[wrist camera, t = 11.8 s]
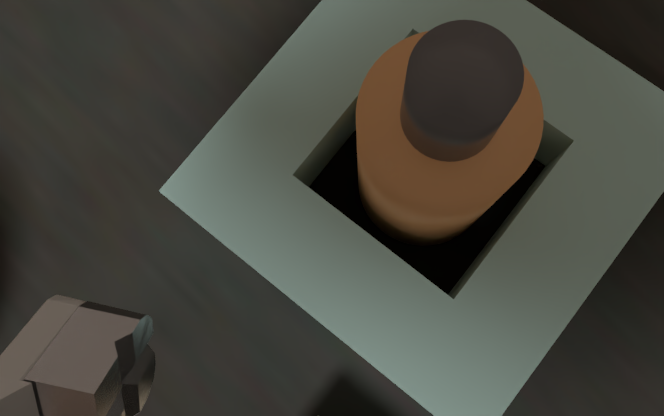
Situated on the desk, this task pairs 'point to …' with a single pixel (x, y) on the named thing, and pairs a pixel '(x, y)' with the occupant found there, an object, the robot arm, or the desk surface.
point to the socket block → (382, 264)
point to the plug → (444, 130)
